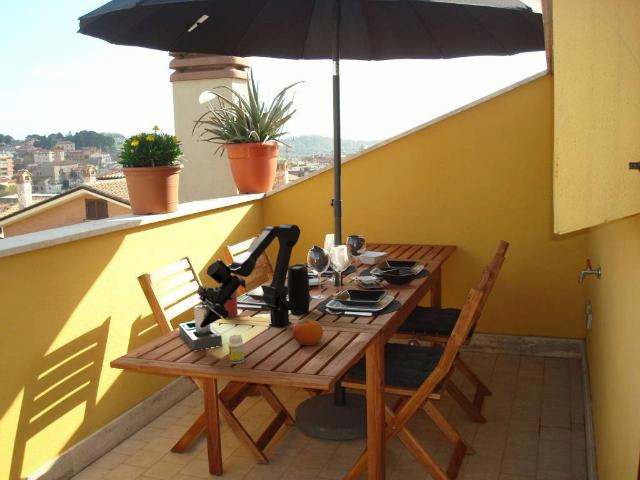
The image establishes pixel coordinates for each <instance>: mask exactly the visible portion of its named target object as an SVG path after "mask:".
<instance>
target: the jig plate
mask: <svg viewBox="0 0 640 480" xmlns="http://www.w3.org/2000/svg"><path fill="white" fill-rule="evenodd" d="M178 326H179V327H178V329H179V335H180V336H181V338H182V339H183V340H184V341H185V343H187V345H188V344H189V345H190V346H191V347H192V348H191V347H190V346H189V347H190V348H191V350H192V351H193V350H199V351H202V350H201V349H204V350H207V349H206V348H210V349H212V348H211V347H215V348H217V347H216V346H221V347H223V339H222V334H221V333H220V332H219V331H218V330H217V329H216V328H215V327H214V326H212V325H211V324H210V334H211V335H207V336H201V337H196V327H195V320H194V321H188V322H181V323H179V324H178Z"/></svg>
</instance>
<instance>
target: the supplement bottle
mask: <svg viewBox="0 0 640 480" xmlns="http://www.w3.org/2000/svg"><path fill="white" fill-rule="evenodd" d="M228 341H229V343H228V355H229V362H230V363H231V362H232V363H231V364H241V362H242V363H244V362H245V348H244V341H243V337H242V335H241V334H231V335H229V337H228Z"/></svg>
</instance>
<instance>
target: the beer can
mask: <svg viewBox="0 0 640 480" xmlns="http://www.w3.org/2000/svg"><path fill="white" fill-rule="evenodd" d="M237 297H238V296H237V291H236V292H235V293H234V294H233V296H232V297H231V298H233V299H232V300H229V301H228V302H227V303H226V304H225V306H224V307H225V309H226V310H227V311H229V316H228V318H227V319H232V318H235V317H237V316H238V314H239V313H238V300H237V299H238V298H237Z"/></svg>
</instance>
